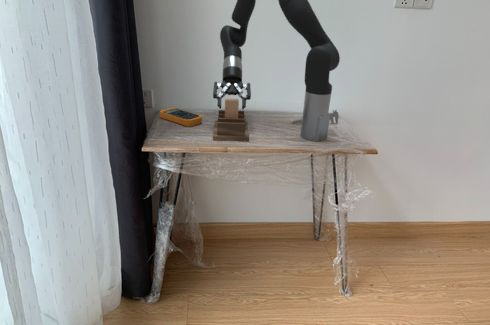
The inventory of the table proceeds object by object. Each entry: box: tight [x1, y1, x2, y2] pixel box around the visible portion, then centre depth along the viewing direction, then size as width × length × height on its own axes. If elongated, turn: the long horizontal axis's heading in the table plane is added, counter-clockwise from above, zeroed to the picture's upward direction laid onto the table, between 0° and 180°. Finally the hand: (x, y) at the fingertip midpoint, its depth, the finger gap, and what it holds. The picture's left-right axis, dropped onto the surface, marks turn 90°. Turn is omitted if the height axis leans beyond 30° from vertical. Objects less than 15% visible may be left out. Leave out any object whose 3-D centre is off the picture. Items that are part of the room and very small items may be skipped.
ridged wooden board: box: [212, 109, 250, 142], centre depth 137 cm, size 19×13×6 cm
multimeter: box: [159, 106, 203, 128], centre depth 148 cm, size 9×18×3 cm, turn 52°
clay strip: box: [224, 98, 240, 119], centre depth 136 cm, size 2×5×11 cm, turn 92°
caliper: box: [290, 109, 340, 125], centre depth 152 cm, size 20×1×6 cm, turn 97°
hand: (231, 108), depth 135 cm, fingers open, 8 cm apart
